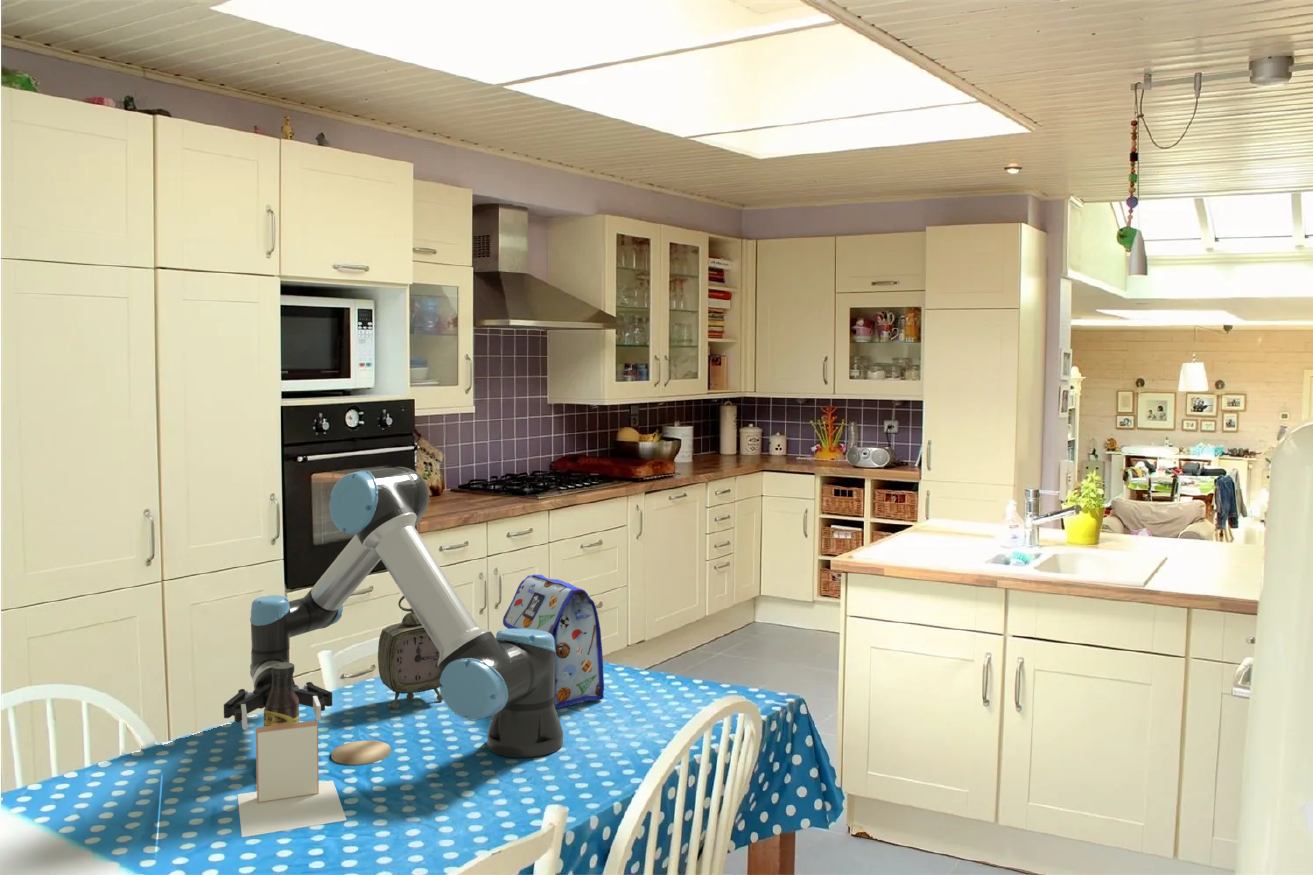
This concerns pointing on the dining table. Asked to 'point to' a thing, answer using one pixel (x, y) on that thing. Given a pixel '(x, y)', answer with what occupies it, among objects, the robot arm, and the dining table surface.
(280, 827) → the white mat
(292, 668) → the sauce bottle
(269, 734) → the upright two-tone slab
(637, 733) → the dining table surface
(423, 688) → the tabletop clock
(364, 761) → the cork coaster
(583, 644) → the lunch bag
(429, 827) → the dining table surface
